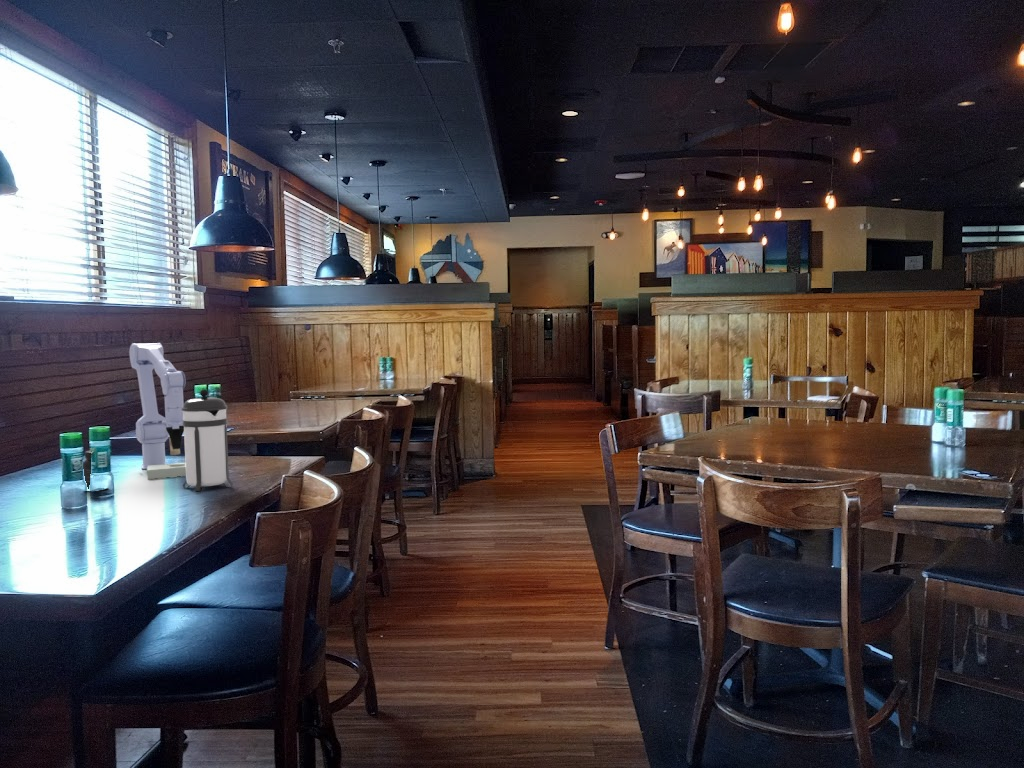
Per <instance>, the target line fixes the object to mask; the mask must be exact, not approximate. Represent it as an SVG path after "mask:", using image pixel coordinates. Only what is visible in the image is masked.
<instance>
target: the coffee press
mask: <svg viewBox="0 0 1024 768" xmlns="http://www.w3.org/2000/svg"><path fill="white" fill-rule="evenodd" d="M199 395H200V396H201V397H195V398H191V399H187V400H186V401H185V402H183V403H184V405H183V407H182V412H183V424H182V425H183V426H184V432H183V436H184V437H183V439H184V457H185V458H184V459H185V462H184V463H185V464H186V476H185V481H184V483H183V485H182V488H183V489H185V488H186V489H189V488H190V487H191V486H192V487H194V489H195V493H196V492H201V491H203V489H204V488H205V487H212V486H219V485H223V486H225V487H226V488H227V487H229V486H230V487H231V488H232V487H233V486H234V483H233V482H232V480H231V479H230V474H229V473H230V471H229V470H230V469H229V454H228V453H229V448H228V447H229V446H228V445H229V444H228V427H227V426H228V417H227V410H228V405H227V404H226V402H225V400H223V399H222V398H219V397H208V395H209V391H208V390H207V389H201V390H200V392H199ZM227 482H228V483H229V484H230V485H229V484H227ZM186 484H187V485H188V486H186ZM201 493H202V492H201Z"/></svg>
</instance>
